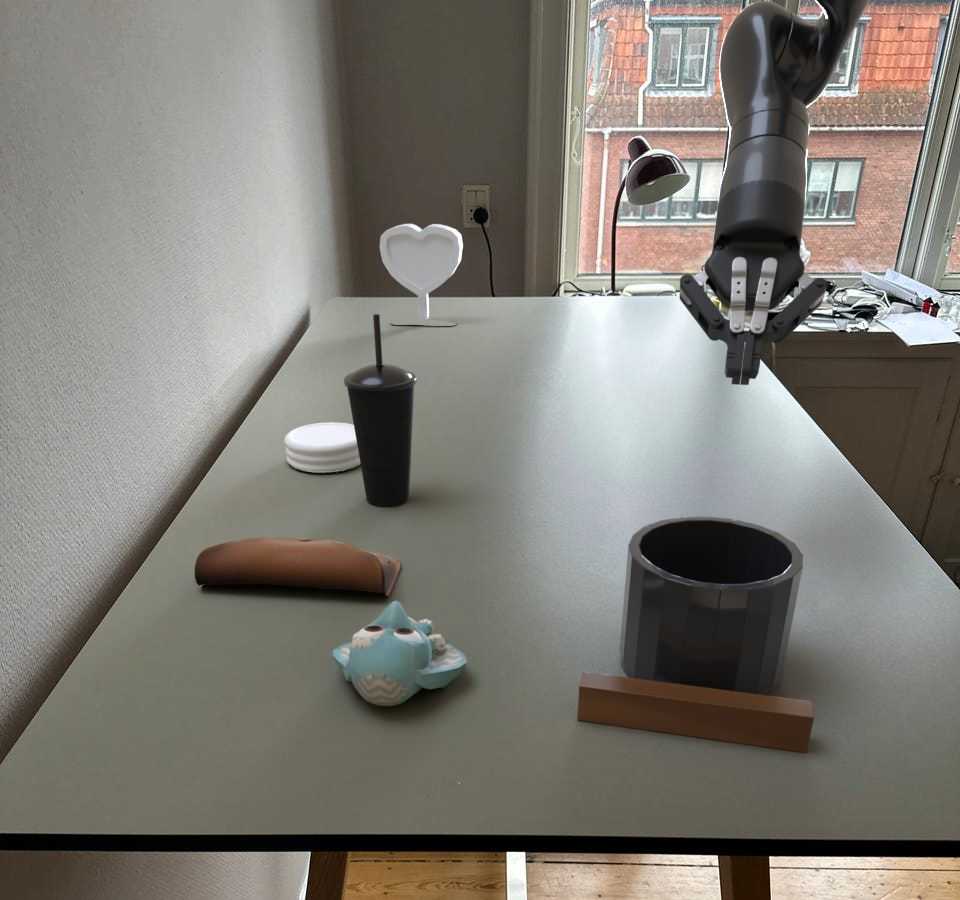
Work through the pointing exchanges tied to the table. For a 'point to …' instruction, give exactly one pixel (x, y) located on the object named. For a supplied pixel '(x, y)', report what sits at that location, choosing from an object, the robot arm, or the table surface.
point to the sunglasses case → (297, 565)
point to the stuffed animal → (397, 658)
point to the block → (696, 711)
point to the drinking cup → (383, 426)
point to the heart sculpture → (421, 258)
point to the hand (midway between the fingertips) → (741, 379)
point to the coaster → (323, 447)
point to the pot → (709, 604)
